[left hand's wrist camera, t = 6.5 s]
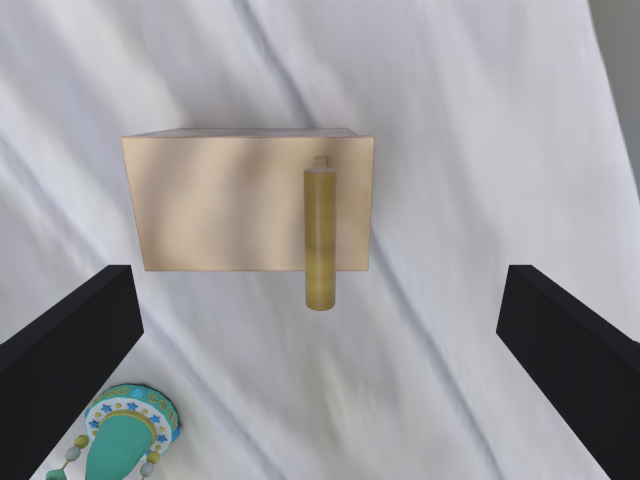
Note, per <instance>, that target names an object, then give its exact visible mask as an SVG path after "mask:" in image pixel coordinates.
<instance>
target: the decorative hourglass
mask: <svg viewBox="0 0 640 480" xmlns="http://www.w3.org/2000/svg"><path fill="white" fill-rule="evenodd" d="M85 418H86V419H85V425H86V433H87V435H88V436H89V438H90V439H91V441H92V442H93V444H92V446H91V449H90V451H89V453H88V457H87V466H86V477H85V480H122V479H123V478H125V477H126V476H127V475H128V474H129V473H130V472H131V471H132V470H133V468H134V467H135V466H136V464H137V463H138V462H142V461H146V460H147V462H148V463H145V464H143V466H142V467H141V470H140V473H141V475H142V476H143V479H144V477H149V476H150V475H151V474H152V473H153V471H154V465H153V464H155V463H157V462H158V460H159V458H160V455H161V454H163V453H164V452H166V450H167V449H168V447H169V445H170V443H171V441H174V440H175V439H176V438H178V437H179V435H180V431H179V426H178V414H177V413H176V411H175V409H174V407H173V405H172V404H171V402H170V401H168V400H167V399H166V398H165V397H164V396H162V395H161V394H160V393H159V392H157V391H154V390H152V389H149V388H147V387H144V386H138V385H126V384H125V385H121V386H117V387H113V388H110V389H109V390H107V391H106V392H105V393H103V394H102V395H101V396H99V398H98V399H96V400H95V402H94V403H93V404H92V406H91V408H89V409H88V410H86V413H85ZM88 442H89V439H88V437H87V436H86V435H80V436H79V437H77V438H76V440H75V442H74V446H75V447H71V448H70V449H69V450H67V452H66V455H65V457H66V460H67V462H66V463H65V465H64V466H63V467H62V469H58V470H52V471H49V472H48V473H47V475H46V480H67V478H66V476H65V473H64V471H63V469H64V468H65V466H66V465H67V463H68V462H69V461H70V462H72V461H75V460H76V459H77V458H78V457H79V456H80V454H81V451H80V449H83V448H84V447H86V446H87V445H88ZM143 479H142V480H143Z"/></svg>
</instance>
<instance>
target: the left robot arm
mask: <svg viewBox="0 0 640 480" xmlns="http://www.w3.org/2000/svg"><path fill="white" fill-rule="evenodd" d="M143 333H144V329H143V324H142V319H141V314H140V309H139V304H138V299H137V294H136V289H135V284H134V279H133V274H132V269H131V265H108V266H107V267H105V268H104V269H102V270H101V271H100V272H98V273H97V274H96V275H94V276H93V277H92V278H90V279H89V280H88V281H86V282H85V283H84V284H82V285H81V286H80V287H78V288H77V289H76V290H74V291H73V292H72V293H70V294H69V295H68V296H66V297H65V298H64V299H62V300H61V301H59V302H58V303H57V304H55V305H54V306H53V307H51V308H50V309H49V310H47V311H46V312H45V313H43V314H42V315H41V316H39V317H38V318H37V319H35V320H34V321H33V322H31V323H30V324H29V325H27V326H26V327H25V328H23V329H22V330H20V331H19V332H18V333H16V334H15V335H14V336H12V337H11V338H10V339H8V340H7V341H6V342H4V343H2V344H0V480H29V479H30V478H31V477H32V475H33V474H34V473H35V471H36V470H37V469H38V468H39V466H40V465H41V464H42V462H43V461H44V460H45V459H46V457H47V456H48V455H49V454H50V452H51V451H52V450H53V448H54V447H55V446H56V445H57V443H58V442H59V441H60V439H61V438H62V437H63V436H64V434H65V433H66V432H67V430H68V429H69V428H70V427H71V425H72V424H73V423H74V422H75V420H76V419H77V418H78V416H79V415H80V414H81V413H82V411H83V410H84V409H85V407H86V406H87V405H88V404H89V402H90V401H91V400H92V399H93V397H94V396H95V395H96V393H97V392H98V391H99V390H100V388H101V387H102V386H103V384H104V383H105V382H106V381H107V379H108V378H109V377H110V376H111V374H112V373H113V372H114V370H115V369H116V368H117V367H118V365H119V364H120V363H121V361H122V360H123V359H124V358H125V356H126V355H127V354H128V353H129V351H130V350H131V349H132V347H133V346H134V345H135V344H136V342H137V341H138V340H139V338H140V337H141V336H142V335H143ZM496 333H497V335H498V336H499V337H500V338H501V340H502V341H503V342H504V344H505V345H506V346H507V347H508V349H509V350H510V351H511V353H512V354H513V355H514V356H515V358H516V359H517V360H518V361H519V363H520V364H521V365H522V367H523V368H524V369H525V370H526V372H527V373H528V374H529V376H530V377H531V378H532V379H533V381H534V382H535V383H536V384H537V386H538V387H539V388H540V390H541V391H542V392H543V393H544V395H545V396H546V397H547V399H548V400H549V401H550V402H551V404H552V405H553V406H554V407H555V409H556V410H557V411H558V413H559V414H560V415H561V416H562V418H563V419H564V420H565V422H566V423H567V424H568V425H569V427H570V428H571V429H572V430H573V432H574V433H575V434H576V436H577V437H578V438H579V439H580V441H581V442H582V443H583V445H584V446H585V447H586V448H587V450H588V451H589V452H590V454H591V455H592V456H593V457H594V459H595V460H596V461H597V462H598V464H599V465H600V466H601V468H602V469H603V470H604V471H605V473H606V474H607V475H608V477H609V478H610V479H611V480H640V343H639V342H637V341H633V340H632V339H630V338H629V337H628V336H626V335H625V334H624V333H622V332H621V331H620V330H618V329H617V328H615V327H614V326H613V325H611V324H610V323H609V322H607V321H606V320H605V319H603V318H602V317H601V316H599V315H598V314H597V313H595V312H594V311H593V310H591V309H590V308H589V307H587V306H586V305H585V304H583V303H582V302H581V301H579V300H578V299H576V298H575V297H574V296H572V295H571V294H570V293H568V292H567V291H566V290H564V289H563V288H562V287H560V286H559V285H558V284H556V283H555V282H554V281H552V280H551V279H550V278H548V277H547V276H546V275H544V274H543V273H542V272H540V271H539V270H538V269H536V268H535V267H533V266H532V265H509V269H508V274H507V279H506V284H505V289H504V294H503V299H502V304H501V309H500V314H499V319H498V324H497V329H496Z"/></svg>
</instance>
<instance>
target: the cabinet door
mask: <svg viewBox="0 0 640 480" xmlns="http://www.w3.org/2000/svg"><path fill="white" fill-rule="evenodd" d="M120 139H121V144H122V150H123V155H124V160H125V166H126V171H127V176H128V182H129V187H130V193H131V198H132V203H133V209H134V214H135V220H136V225H137V230H138V236H139V241H140V247H141V252H142V257H143V263H144V268H145V271H305V291H306V305H307V307H308V308H310V309H312V310H316V311H325V310H329V309H331V308H332V307H334V305H335V285H336V271H368V262H369V243H370V223H371V203H372V184H373V164H374V144H375V138H374V137H373V136H125V137H121V138H120Z"/></svg>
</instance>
